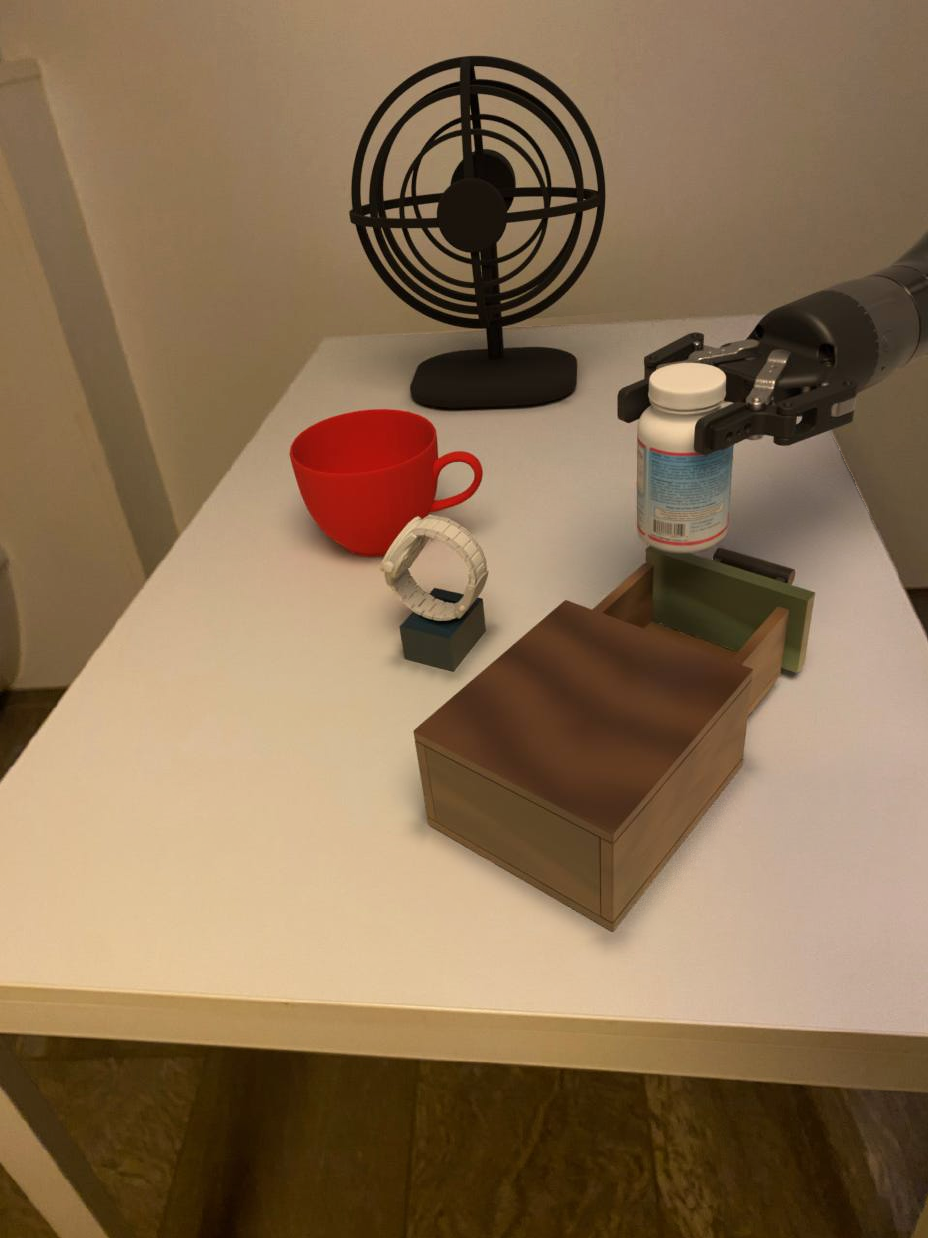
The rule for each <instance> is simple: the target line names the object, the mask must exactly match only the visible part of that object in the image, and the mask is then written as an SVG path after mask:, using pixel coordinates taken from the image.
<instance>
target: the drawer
mask: <svg viewBox="0 0 928 1238" xmlns="http://www.w3.org/2000/svg"><path fill="white" fill-rule="evenodd" d="M644 552H645V553H644V555H645V557H644V559H645V560H644V563H642V564H641V565H640V566H639V567H638V568H637V569H636V570H634V572H632V573H631V574H630V575H629V576H628V577H627V578H626V579H624V580H623V581H622V582H621V583H620V584H618V586H616V588H615V589H613V590H612V591H611V592H610V593H609V594H608V595H606V597H604V598H603V599H602V600H601V601H600V602H599V603H597V604H596V606H594V607H593V608H591V609H592V610H595V611H598V612H600V613H603V614H606V615H608V616H611V617H614V618H616V619H619V620H622V621H625V622H627V623H630V624H633V625H635V626H638V627H641V628H643V629H646V630H649V631H652V632H654V633H657V634H660V635H662V636H665V637H668V638H670V639H673V640H676V641H679V642H681V643H684V644H687V645H689V646H692V647H695V648H697V649H700V650H703V651H706V652H708V653H711V654H714V655H716V656H719V657H722V658H725V659H727V660H730V661H733V662H735V663H738V664H741V665H743V666H746V667H749V668H752V669H753V675H752V683H751V692H750V701H749V710H748V716H750V714H751V713H752V712H753V710H754V709H755V708H756V707H757V706H758V705H759V703H760V702H761V701H762V699H764V697H765V696H766V695H767V694H768V692H769V691H770V690H771V688H772V687H773V686H774V685H775V683H776V682H777V681H778V680H779V679H780V677H781V671H782V669H784V670H787V671H789V672H792V673H795V674H798V673H799V672H800V671H801V669H802V668H803V667H804V666H805V662H806V657H807V656H806V655H807V650H808V642H809V637H810V630H811V624H812V617H813V611H814V610H813V609H814V605H815V597H816V592H815V591H813V590H810V589H806V588H803V587H800V586H796V585H793V584H794V581H795V578H796V569H795V568H792V567H788V566H785V565H783V564H779V563H775V562H772V561H768V560H766V559H761V558H759V557H756V556H752V555H748V554H746V553H742V552H739V551H735V550H732V549H728V548H725V547H723V546H718V547H717V548H716V549H715V550H714V553H713V555H712V559H710V558H706V557H703V556H700V555H697V554H695V553H685V554H680V553H670V552H665V551H662V550H658V549H656V548H654V547H651V546H650V545H648V546H647V547H646V548H645V551H644Z"/></svg>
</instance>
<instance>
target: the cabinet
mask: <svg viewBox="0 0 928 1238" xmlns="http://www.w3.org/2000/svg"><path fill="white" fill-rule="evenodd" d="M592 609H593V608H589V607H588V606H587V607H586V606H584V605H581V604H579V603H575V602H573V601H570V600H568V599H564V600H563V601H562V602H561V603H560V604H559V605H557V607H555V608H554V609H553V610H551V612H549V613H548V614H547V615H545V616H544V618H543V619H542V620H540V621H539V622H538V623H537V624H536V625H534V626H533V627H532V628H530V629H529V630H528V631H527V632H526V633H525V634H523V636H522V637H520V638H519V639H518V640H517V641H516V642H515V643H513V644H512V645H511V646H510V647H508V648H507V649H506V650H505V651H504V652H503V653H502V654H500V655H499V656H498V657H497V658H496V659H494V661H493V662H491V663H490V664H489V665H488V666H486V667H485V668H484V669H483V670H481V672H480V673H478V674H477V675H476V676H475V677H473V679H471V681H469V682H468V683H467V684H465V686H463V687H462V688H460V689H459V691H458V692H456V693H455V694H454V695H453V696H452V697H451V698H449V699H448V700H447V701H446V702H445V703H444V704H442V705H441V706H440V707H439V708H438V709H437V710H436V711H434V712H433V713H431V714H430V716H428V717H427V718H426V719H425V720H424V721H422V723H420V724H419V725H418V726H417V727H416V728H414V729H413V732H412V733H413V738H414V746H415V752H416V758H417V763H418V770H419V776H420V781H421V782H420V783H421V788H422V794H423V801H424V807H425V812H426V817H427V822H428V823H427V824H428V826H430V827H432V828H433V829H435V830H437V831H438V832H440V833H441V834H443V835H445V836H447V837H449V838H451V840H454V841H456V842H457V843H459V844H461V845H462V846H465V847H466V848H467V849H470V850H471V851H473V852H475V853H476V854H478V855H479V856H482V857H483V858H485V859H487V860H488V861H490V862H492V863H494V864H495V865H497V866H499V867H501V868H502V869H504V870H505V871H507V872H509V873H511V874H513V875H514V876H516V877H518V878H519V879H521V880H523V881H524V882H526V883H528V884H530V885H531V886H533V887H534V888H536V889H538V890H540V891H541V892H543V893H545V894H547V895H548V896H550V897H552V898H553V899H555V900H557V901H559V902H561V903H562V904H563V905H566V906H568V908H571V909H573V910H574V911H576V912H577V913H580V914H581V915H583V916H585V917H586V918H588V919H590V920H591V921H593V922H595V923H597V924H598V925H600V926H601V927H603V928H605V929H607V930H608V931H610V932H614V931H615V930H616V928H617V927H618V926H619V924H620V923H621V922H622V920H623V919H624V918H625V917H626V916H627V915H628V913H629V912H630V910H631V909H632V908H633V906H634V905H635V904H636V903H637V902H638V900H639V899H640V898H641V896H642V895H643V894H644V892H645V891H646V890H647V889H648V887H649V886H650V885H651V883H652V882H653V881H654V880H655V878H656V877H657V876H658V874H659V873H660V872H661V870H663V868H664V867H665V865H666V864H667V863H668V862H669V860H670V859H671V858H672V856H673V855H674V854H675V853H676V851H677V850H678V848H680V846H681V845H682V843H683V842H684V841H685V840H686V838H687V837H688V836H689V835H690V833H691V832H692V831H693V830H694V828H695V827H696V825H697V824H698V823H699V821H700V820H701V819H702V818H703V816H705V814H706V813H707V812H708V810H709V809H710V808H711V806H712V805H713V804H714V803H715V801H716V800H717V799H718V797H719V796H720V794H722V792H723V791H724V790H725V789H726V787H727V785H729V783H730V782H731V780H733V778H734V777H735V775H736V774H737V773H738V772H739V770H740V769H741V768H742V766H743V763H744V762H743V761H744V753H745V745H746V737H747V736H746V735H747V727H748V718H749V715H748V710H749V701H750V692H751V683H752V675H753V669H752V668H749V667H746V666H743V665H741V664H738V663H735V662H733V661H730V660H727V659H725V658H722V657H719V656H716V655H714V654H711V653H708V652H706V651H703V650H700V649H697V648H695V647H692V646H689V645H687V644H684V643H681V642H679V641H676V640H673V639H670V638H668V637H665V636H662V635H660V634H657V633H654V632H652V631H649V630H646V629H643V628H641V627H638V626H635V625H633V624H630V623H627V622H625V621H622V620H619V619H616V618H614V617H611V616H608V615H606V614H603V613H600V612H598V611H595V610H592Z"/></svg>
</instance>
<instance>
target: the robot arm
mask: <svg viewBox="0 0 928 1238" xmlns="http://www.w3.org/2000/svg"><path fill="white" fill-rule="evenodd" d="M927 356H928V229H926V231H925V232H923V233H922V234H921V236H919V237H918V239H917V240H916V241H915V242H914V243H913V244H912V245H911V246H910V248H908V249H907V250H906V251H905V252H904V253H903V254H902V255H900V256H899V257H898V258H897V259H896V260H895V261H894V262H892V263H891V264H890V265H888V267H885V268H882V269H880V270H877V271H875V272H872V273H869V274H867V275H865V276H863V277H860V278H854V279H850V280H846V281H840V282H838V283H836V284H833V285H830V286H828V287H826V288H823V289H820V290H818V291H816V292H813V293H810V294H808V295H806V296H803V297H800V298H798V299H796V300H794V301H791V302H788V303H786V304H783V305H781V306H779V307H778V306H777V307H776V308H774V309H772V310H770V311H769V312H767V313H766V314H765V315H764V316H763V317H761V319H760V320H759V321H758V322H757V324H756V325H755V327H754V328H753V330H752V331H751V332H750V333H749V335H748V336H746V339H743V340H737V341H732V342H727V343H724V344H723V345H721V346H719V347H713V346H710V345H705V334H704V333H701V332H699V331H698V332H697V331H695V332H690V333H688V334H686V335H683V336H682V337H680V338H677V339H676V340H674V341H672V342H670V343H668V344H666V345H664V346H662V347H660V348H658V349H657V350H655V351H653V352H651V353H649V354H647V355H645V356H644V357H643V367H644V370H643V371H644V372H643V373H644V375H643V379H641V380H638V381H636V382H634V383H631V384H628V385H626V386H623V387H622V388H621V389H619V390H618V393H617V395H616V396H617V398H616V399H617V403H616V404H617V405H616V407H617V409H616V410H617V412H616V414H617V416H616V417H617V419H618V420H619V421H622V422H624V423H626V424H631V423H633V422H636V421H639V419H640V417H641V415H642V413H643V412H644V411H645V410H646V409H647V408H648V407H649V406H651V403H650V401H649V397H648V392H649V378H650V376H651V374H652V373H653V372H655V371H656V370H658V369H660V368H662V367H665V366H668V365H673V364H679V363H700V364H707V365H711V366H714V367H717V368H719V369H720V370H721V371H723V372H724V373H725V375H726V396H725V398H724V401H723V403H722V404H725V403H731V404H728V405H726V406H725V407H724V408H722V409H720V410H717V411H715V412H713V413H711V414H709V415H706V416H704V417H702V418H700V419H699V420H698V421H697V423H696V425H695V433H694V450H695V452H698V453H700V454H702V455H705V456H707V455H709V454H711V453H713V452H715V451H719V450H724V449H726V448H728V447H730V446H732V445H734V446H735V445H736V444H738V443H741V442H743V441H745V440H748V441H758V440H762V439H763V437H765V436H767V437H768V436H769V437H773V441H772V442H773V443H774V444H775V445H777V446H781V447H782V446H783V447H787V446H791V445H794V444H797V443H799V442H802V441H805V440H808V439H811V438H813V437H815V436H819V435H821V434H824V433H827V432H829V431H832V430H834V429H837V428H841V427H842V426H846V425H849V424H851V423H853V421H854V416H855V409H856V403H857V397H858V394H859V393H861V392H863V391H865V390H867V389H869V388H871V387H874V386H875V385H878V384H879V383H881V382H882V381H884V380H886V379H887V378H888V377H889V376H891V375H892V374H894V373H895V372H896V371H898V370H900V369H902V368H904V367H907V366H908V365H911V364H912V363H915V362H917V361H919V360H921V359H923V358H925V357H927ZM799 417H801V420H800V421H799V422H798V421H797V420H798V418H799ZM797 422H798V423H797Z"/></svg>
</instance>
